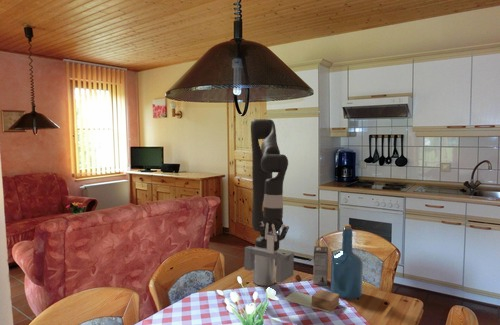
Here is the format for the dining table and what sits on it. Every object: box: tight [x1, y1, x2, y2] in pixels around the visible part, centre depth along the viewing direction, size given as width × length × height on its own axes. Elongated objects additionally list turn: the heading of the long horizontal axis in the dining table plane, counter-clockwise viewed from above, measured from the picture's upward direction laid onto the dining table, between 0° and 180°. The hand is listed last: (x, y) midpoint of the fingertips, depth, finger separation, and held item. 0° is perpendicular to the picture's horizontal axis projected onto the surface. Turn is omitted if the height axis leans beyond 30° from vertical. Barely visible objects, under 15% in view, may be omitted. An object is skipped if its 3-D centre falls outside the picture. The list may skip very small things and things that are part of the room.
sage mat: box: [283, 290, 340, 314], centre depth 143 cm, size 20×10×1 cm, turn 56°
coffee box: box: [312, 245, 329, 286], centre depth 165 cm, size 9×6×16 cm
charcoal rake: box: [243, 233, 295, 284], centre depth 141 cm, size 19×10×16 cm, turn 55°
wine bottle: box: [330, 224, 364, 300], centre depth 152 cm, size 14×13×30 cm
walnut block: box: [311, 289, 340, 312], centre depth 139 cm, size 8×8×4 cm
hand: (272, 249), depth 140 cm, fingers closed on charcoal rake, 3 cm apart
